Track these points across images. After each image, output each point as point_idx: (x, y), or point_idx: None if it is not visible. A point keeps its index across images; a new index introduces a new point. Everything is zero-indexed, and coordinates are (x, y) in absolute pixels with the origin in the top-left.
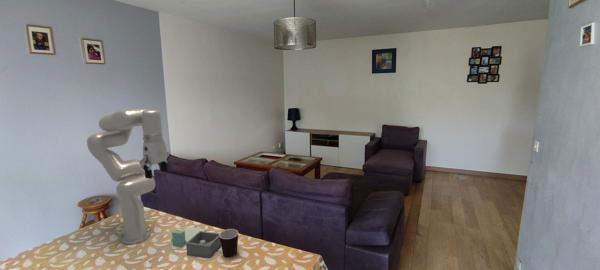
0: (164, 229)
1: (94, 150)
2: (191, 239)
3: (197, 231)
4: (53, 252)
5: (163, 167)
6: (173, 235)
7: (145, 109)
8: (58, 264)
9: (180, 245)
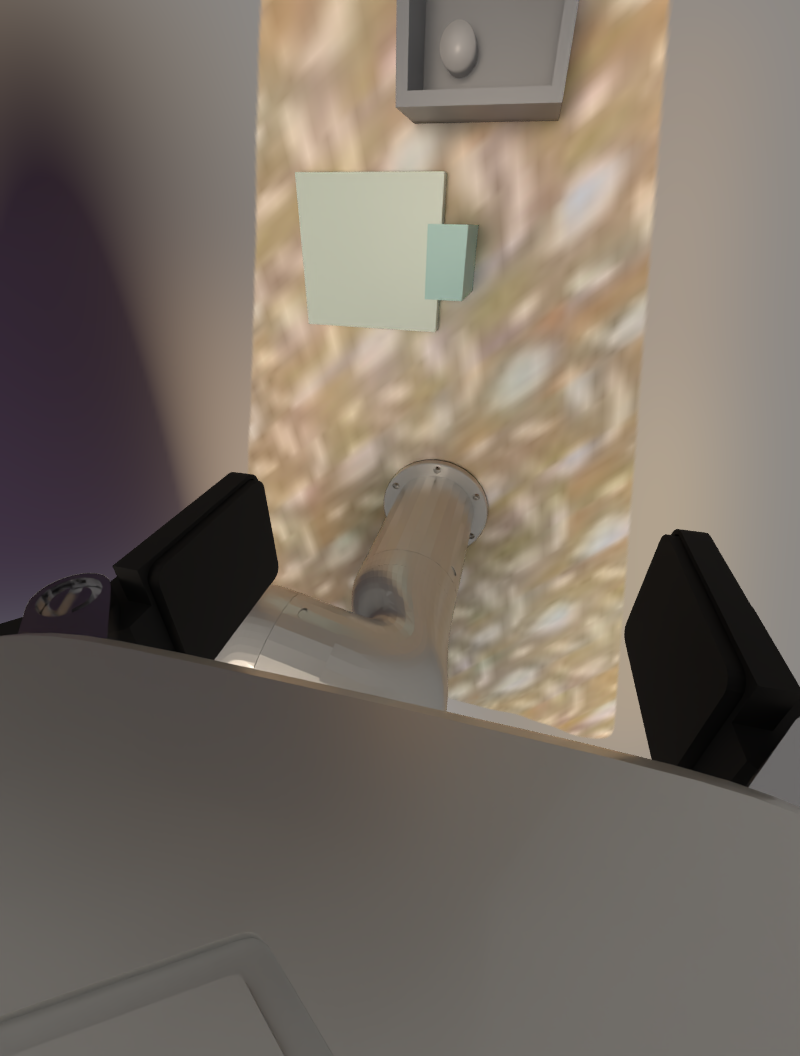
0: (351, 432)
1: None
2: (512, 89)
3: (333, 219)
4: (551, 687)
5: (228, 571)
6: (465, 287)
7: None
8: (620, 641)
9: (477, 235)
